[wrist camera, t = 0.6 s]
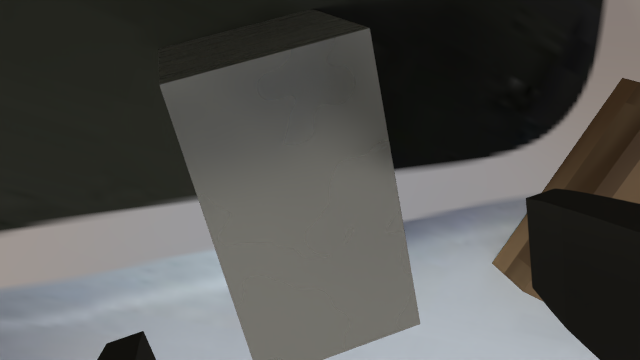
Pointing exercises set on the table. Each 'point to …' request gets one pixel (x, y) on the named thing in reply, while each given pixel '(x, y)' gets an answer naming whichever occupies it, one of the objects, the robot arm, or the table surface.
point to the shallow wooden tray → (589, 172)
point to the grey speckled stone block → (295, 181)
